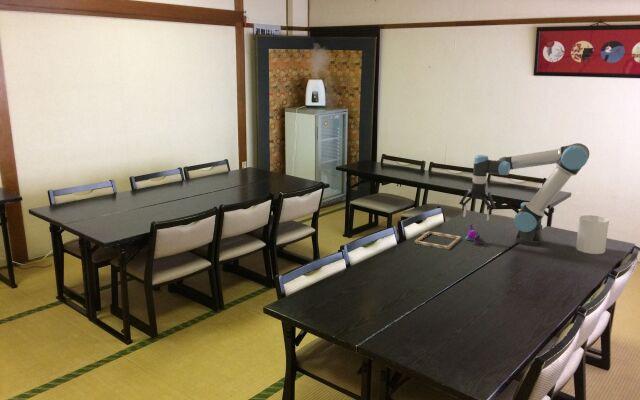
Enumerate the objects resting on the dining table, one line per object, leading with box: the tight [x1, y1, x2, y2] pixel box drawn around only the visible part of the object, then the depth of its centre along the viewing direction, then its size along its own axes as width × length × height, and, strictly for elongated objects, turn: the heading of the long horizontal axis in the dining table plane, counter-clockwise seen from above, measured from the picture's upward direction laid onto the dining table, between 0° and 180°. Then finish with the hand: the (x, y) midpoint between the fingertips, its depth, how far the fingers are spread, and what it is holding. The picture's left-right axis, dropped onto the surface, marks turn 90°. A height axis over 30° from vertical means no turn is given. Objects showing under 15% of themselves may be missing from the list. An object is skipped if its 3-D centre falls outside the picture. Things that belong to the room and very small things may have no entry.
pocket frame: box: [413, 230, 462, 250], centre depth 312 cm, size 23×22×2 cm
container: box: [575, 214, 610, 255], centre depth 295 cm, size 14×14×18 cm
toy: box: [464, 223, 482, 244], centre depth 312 cm, size 12×10×15 cm
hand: (476, 218), depth 310 cm, fingers open, 13 cm apart
